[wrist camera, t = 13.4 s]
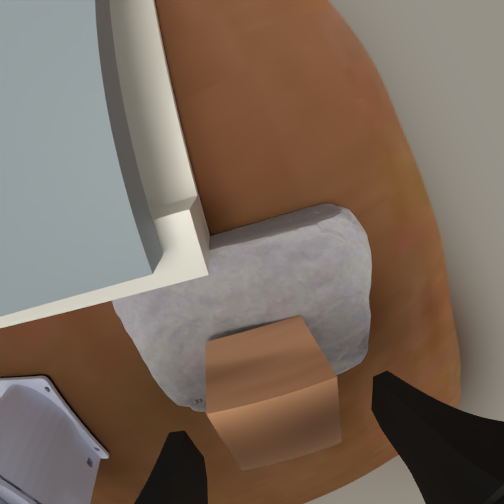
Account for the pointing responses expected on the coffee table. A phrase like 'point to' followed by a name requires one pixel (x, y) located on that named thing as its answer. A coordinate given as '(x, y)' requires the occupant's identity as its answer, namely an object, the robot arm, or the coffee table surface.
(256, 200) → the coffee table surface
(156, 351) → the stone block
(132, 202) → the slide cover
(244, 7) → the coffee table surface
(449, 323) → the coffee table surface
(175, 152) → the white sliding box
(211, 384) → the block
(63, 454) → the robot arm
